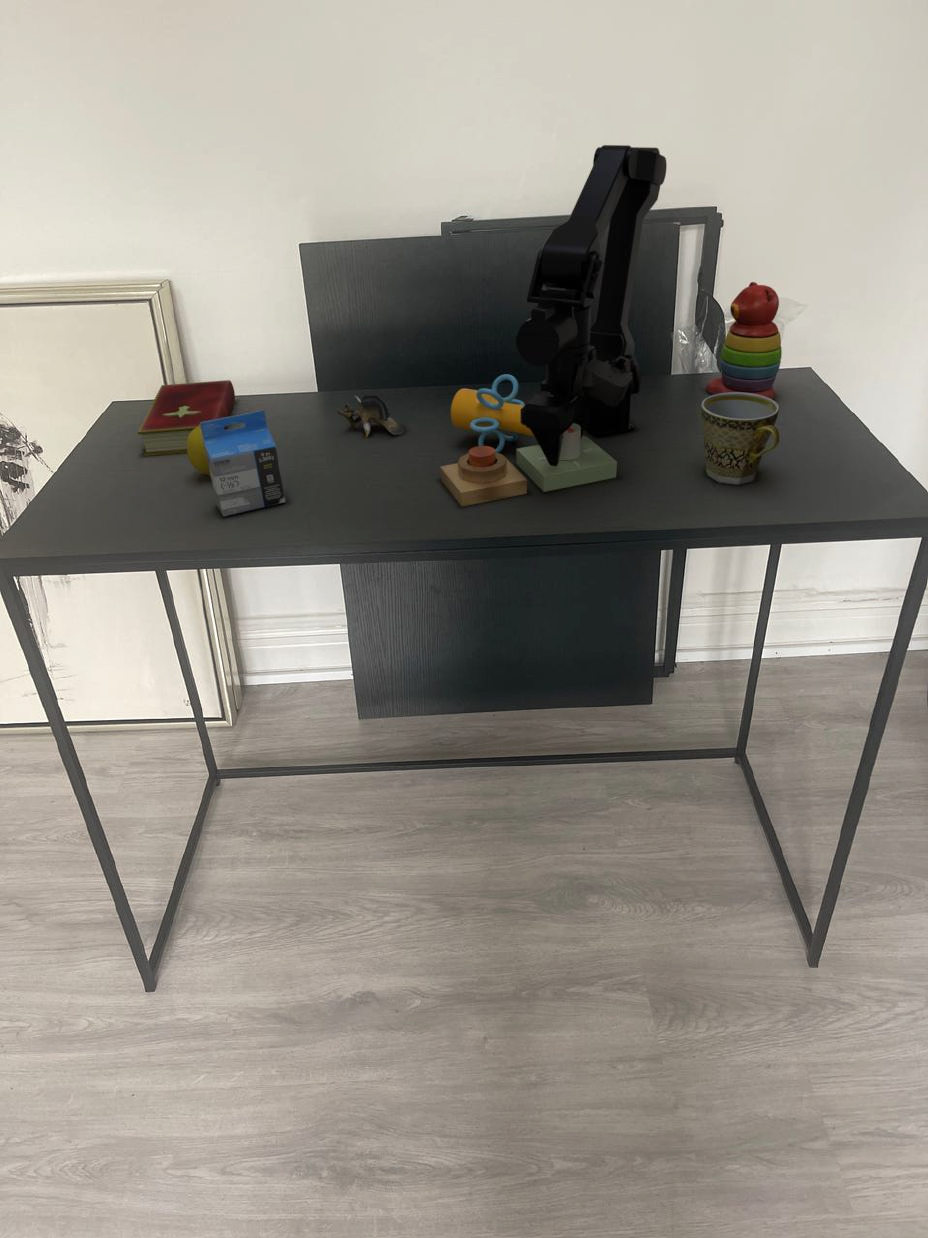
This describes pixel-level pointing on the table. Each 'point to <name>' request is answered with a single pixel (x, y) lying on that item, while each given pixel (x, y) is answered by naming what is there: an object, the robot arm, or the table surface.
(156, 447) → the hardcover book
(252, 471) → the label tape box
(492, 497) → the button block
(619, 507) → the table surface
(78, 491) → the table surface
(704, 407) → the ceramic cup
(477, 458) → the top button
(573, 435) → the dial
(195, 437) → the lemon
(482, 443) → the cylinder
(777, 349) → the stacking bear
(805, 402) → the table surface
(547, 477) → the dial panel
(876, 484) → the table surface
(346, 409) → the animal figurine
